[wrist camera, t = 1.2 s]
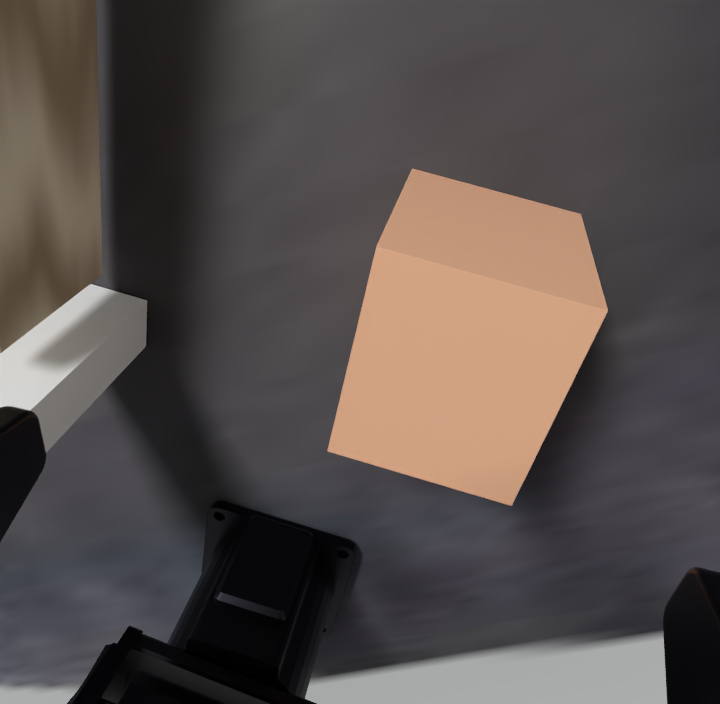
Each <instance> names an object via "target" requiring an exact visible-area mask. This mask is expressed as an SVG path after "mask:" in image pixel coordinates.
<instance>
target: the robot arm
mask: <svg viewBox="0 0 720 704" xmlns="http://www.w3.org/2000/svg"><path fill="white" fill-rule="evenodd" d="M45 461H46V451H45V446H44V441H43V437H42V432H41V427H40V423H39V419H38V417H37V415H36V414H35V413H34V412H32V411H30V410H25V409H21V408H17V407H12V406H4V407H1V408H0V542H1V540H2V538H3V536H4V535H5V533H6V531H7V530H8V528H9V526H10V525H11V523H12V521H13V520H14V518H15V516H16V514H17V513H18V511H19V509H20V508H21V506H22V504H23V503H24V501H25V499H26V497H27V496H28V494H29V492H30V491H31V489H32V487H33V486H34V484H35V482H36V481H37V479H38V477H39V475H40V474H41V472H42V470H43V468H44V465H45ZM355 553H356V546H355V544H354V543H352V542H351V541H349V540H347V539H344V538H340V537H337V536H334V535H330V534H327V533H324V532H321V531H317V530H314V529H311V528H308V527H304V526H301V525H298V524H295V523H291V522H288V521H285V520H281V519H278V518H275V517H272V516H268V515H265V514H262V513H259V512H255V511H252V510H249V509H246V508H242V507H239V506H236V505H232V504H229V503H226V502H222V501H217V502H215V503H213V504H212V506H211V508H210V510H209V512H208V519H207V528H206V537H205V547H204V556H203V565H202V575H201V577H200V579H199V581H198V583H197V585H196V587H195V589H194V591H193V593H192V595H191V597H190V599H189V601H188V603H187V605H186V607H185V609H184V611H183V613H182V615H181V617H180V619H179V621H178V623H177V625H176V627H175V629H174V631H173V633H172V635H171V637H170V639H169V641H168V643H164V642H162V641H159V640H157V639H154V638H152V637H149V636H147V635H144V634H142V633H143V631H142V630H139V629H137V628H134V627H132V626H129V627H128V628H127V630H126V631H125V633H124V634H123V636H122V637H121V639H120V640H119V642H118V643H117V644H116V643H113V644H110V645H106V646H105V647H104V649H103V651H102V652H101V654H100V656H99V658H98V659H97V661H96V663H95V664H94V666H93V668H92V669H91V671H90V673H89V674H88V676H87V678H86V679H85V681H84V682H83V684H82V685H81V687H80V688H79V689H78V691H77V692H76V693H75V695H74V696H73V697H72V698H71V699H70V701H69V702H68V703H67V704H316V703H314V702H311V701H309V700H306V699H305V695H306V691H307V688H308V685H309V681H310V677H311V674H312V670H313V666H314V663H315V659H316V656H317V652H318V648H319V645H320V641H321V637H322V636H327V635H329V634H330V633H331V631H332V627H333V624H334V621H335V618H336V615H337V611H338V608H339V605H340V602H341V599H342V596H343V592H344V589H345V586H346V583H347V580H348V577H349V573H350V570H351V567H352V564H353V561H354V557H355ZM663 631H664V648H665V667H666V687H667V704H720V572H716V571H711V570H707V569H703V568H699V567H694V568H692V569H690V570H689V571H688V572H687V573H686V574H685V576H684V578H683V579H682V581H681V582H680V584H679V585H678V587H677V589H676V590H675V592H674V593H673V595H672V597H671V598H670V600H669V601H668V603H667V605H666V608H665V611H664V617H663Z"/></svg>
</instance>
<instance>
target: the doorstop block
mask: <svg viewBox="0 0 720 704" xmlns="http://www.w3.org/2000/svg"><path fill="white" fill-rule="evenodd" d="M607 312H608V309H607V305H606V302H605V298H604V295H603V291H602V287H601V284H600V280H599V277H598V273H597V270H596V266H595V263H594V259H593V255H592V252H591V248H590V245H589V241H588V238H587V234H586V230H585V227H584V223H583V220H582V216H581V214H578V213H575V212H571V211H567V210H564V209H560V208H556V207H552V206H549V205H545V204H541V203H538V202H534V201H530V200H527V199H523V198H519V197H516V196H512V195H508V194H504V193H501V192H497V191H493V190H490V189H486V188H482V187H479V186H475V185H471V184H467V183H464V182H460V181H456V180H453V179H449V178H445V177H442V176H438V175H434V174H430V173H427V172H423V171H419V170H416V169H412V170H411V172H410V175H409V177H408V179H407V181H406V183H405V185H404V188H403V190H402V192H401V194H400V196H399V199H398V201H397V203H396V205H395V207H394V209H393V212H392V214H391V216H390V218H389V220H388V223H387V225H386V227H385V229H384V231H383V233H382V236H381V238H380V240H379V242H378V244H377V247H376V251H375V255H374V259H373V263H372V267H371V272H370V276H369V280H368V284H367V288H366V292H365V297H364V301H363V305H362V309H361V313H360V317H359V322H358V326H357V330H356V334H355V338H354V342H353V347H352V351H351V355H350V359H349V363H348V367H347V372H346V376H345V380H344V384H343V388H342V392H341V397H340V401H339V405H338V409H337V413H336V417H335V422H334V426H333V430H332V434H331V438H330V442H329V447H328V452H332V453H335V454H338V455H342V456H345V457H348V458H352V459H355V460H359V461H362V462H365V463H369V464H372V465H375V466H379V467H382V468H386V469H389V470H392V471H396V472H399V473H402V474H406V475H409V476H412V477H416V478H419V479H423V480H426V481H429V482H433V483H436V484H439V485H443V486H446V487H449V488H453V489H456V490H460V491H463V492H466V493H470V494H473V495H476V496H480V497H483V498H486V499H490V500H493V501H497V502H500V503H503V504H507V505H510V506H512V504H513V502H514V500H515V498H516V496H517V494H518V492H519V490H520V488H521V486H522V484H523V482H524V480H525V478H526V476H527V474H528V472H529V470H530V468H531V466H532V464H533V462H534V460H535V458H536V455H537V453H538V451H539V449H540V447H541V445H542V443H543V441H544V439H545V437H546V435H547V433H548V431H549V429H550V427H551V425H552V423H553V421H554V419H555V417H556V415H557V413H558V411H559V409H560V407H561V405H562V403H563V401H564V399H565V397H566V395H567V393H568V391H569V389H570V387H571V385H572V383H573V381H574V379H575V377H576V374H577V372H578V370H579V368H580V366H581V364H582V362H583V360H584V358H585V356H586V354H587V352H588V350H589V348H590V346H591V344H592V342H593V340H594V338H595V336H596V334H597V332H598V330H599V328H600V326H601V324H602V322H603V320H604V318H605V316H606V314H607Z"/></svg>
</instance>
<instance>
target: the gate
mask: <svg viewBox="0 0 720 704" xmlns="http://www.w3.org/2000/svg"><path fill="white" fill-rule="evenodd" d="M101 275H102V242H101V197H100V152H99V108H98V63H97V18H96V0H0V353H2V352H3V351H4V350H6V349H7V348H8V347H10V346H11V345H12V344H13V343H15V342H16V341H17V340H19V339H20V338H21V337H22V336H24V335H25V334H26V333H28V332H29V331H30V330H32V329H33V328H34V327H35V326H37V325H38V324H39V323H41V322H42V321H43V320H44V319H46V318H47V317H48V316H50V315H51V314H52V313H53V312H55V311H56V310H57V309H59V308H60V307H61V306H63V305H64V304H65V303H66V302H68V301H69V300H70V299H72V298H73V297H74V296H75V295H77V294H78V293H79V292H81V291H82V290H83V289H84V288H86V287H87V286H88V285H90V284H91V283H92V282H94V281H95V280H96V279H97V278H99V277H100V276H101Z"/></svg>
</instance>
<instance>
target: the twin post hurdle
mask: <svg viewBox="0 0 720 704" xmlns="http://www.w3.org/2000/svg"><path fill="white" fill-rule="evenodd" d="M146 333H147V300H144V299H141V298H137V297H134V296H130V295H127V294H124V293H120V292H117V291H113V290H110V289H106V288H103V287H99V286H96V285H93V284H90V285H88V286H87V287H86V288H84V289H83V290H82V291H81V292H79V293H78V294H77V295H75V296H74V297H73V298H72V299H70V300H69V301H68V302H66V303H65V304H64V305H63V306H61V307H60V308H59V309H57V310H56V311H55V312H53V313H52V314H51V315H50V316H48V317H47V318H46V319H44V320H43V321H42V322H41V323H39V324H38V325H37V326H35V327H34V328H33V329H32V330H30V331H29V332H28V333H26V334H25V335H24V336H22V337H21V338H20V339H19V340H17V341H16V342H15V343H13V344H12V345H11V346H10V347H8V348H7V349H6V350H4V351H3V352H2V353H0V408H1V407H4V406H12V407H17V408H21V409H25V410H30V411H32V412H34V413H35V414H36V415H37V417H38V419H39V423H40V427H41V432H42V437H43V441H44V446H45V451H46V452H47V451H48V450H49V449H50V448H51V447H52V446H53V445H54V444H55V443H56V442H57V441H58V439H59V438H60V437H61V436H62V435H63V434H64V433H65V432H66V431H67V430H68V429H69V428H70V427H71V426H72V425H73V424H74V422H75V421H76V420H77V419H78V418H79V417H80V416H81V415H82V414H83V413H84V412H85V411H86V410H87V409H88V408H89V406H90V405H91V404H92V403H93V402H94V401H95V400H96V399H97V398H98V397H99V396H100V395H101V394H102V393H103V392H104V390H105V389H106V388H107V387H108V386H109V385H110V384H111V383H112V382H113V381H114V380H115V379H116V378H117V377H118V376H119V375H120V373H121V372H122V371H123V370H124V369H125V368H126V367H127V366H128V365H129V364H130V363H131V362H132V361H133V360H134V359H135V357H136V356H137V355H138V354H139V353H140V352H141V351H142V350H143V349H144V348H145V347H146Z"/></svg>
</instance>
